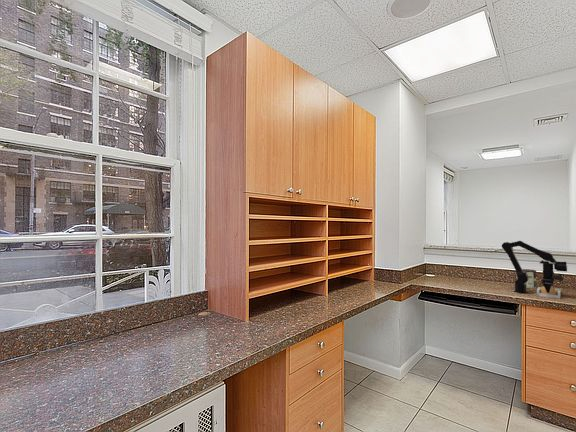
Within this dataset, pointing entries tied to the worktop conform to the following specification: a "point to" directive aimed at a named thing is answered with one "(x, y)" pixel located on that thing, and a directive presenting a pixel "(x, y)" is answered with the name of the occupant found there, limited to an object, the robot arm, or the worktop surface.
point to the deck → (558, 294)
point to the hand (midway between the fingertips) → (548, 291)
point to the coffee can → (531, 278)
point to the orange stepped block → (552, 291)
